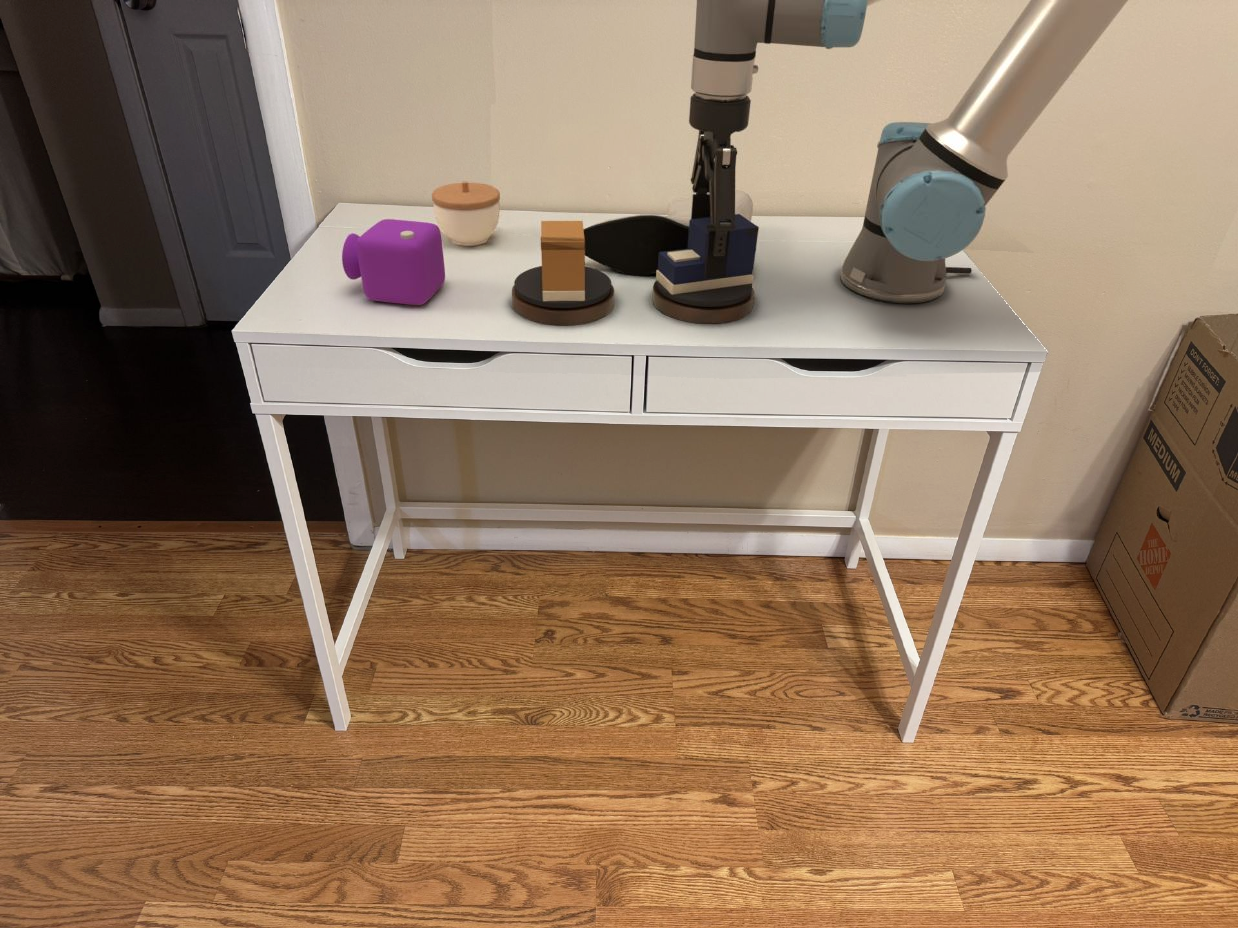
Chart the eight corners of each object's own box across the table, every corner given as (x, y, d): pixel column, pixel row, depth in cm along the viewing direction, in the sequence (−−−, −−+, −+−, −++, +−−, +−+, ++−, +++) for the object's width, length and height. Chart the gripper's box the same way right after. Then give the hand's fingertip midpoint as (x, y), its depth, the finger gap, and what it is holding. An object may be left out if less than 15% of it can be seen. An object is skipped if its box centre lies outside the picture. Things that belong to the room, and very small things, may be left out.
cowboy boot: (760, 235, 120) (765, 185, 140) (574, 204, 122) (605, 159, 142) (748, 296, 125) (754, 239, 146) (570, 265, 127) (600, 213, 148)
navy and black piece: (724, 263, 126) (731, 204, 120) (769, 299, 115) (778, 236, 110) (641, 274, 122) (644, 213, 116) (680, 312, 111) (684, 248, 106)
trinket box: (426, 235, 139) (419, 178, 133) (484, 224, 144) (480, 168, 138) (453, 256, 131) (447, 197, 126) (513, 244, 136) (510, 186, 131)
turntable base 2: (742, 281, 126) (743, 268, 125) (762, 323, 114) (764, 310, 113) (647, 282, 125) (648, 269, 124) (658, 324, 113) (659, 311, 112)
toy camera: (358, 276, 124) (346, 210, 118) (449, 278, 124) (443, 212, 118) (337, 307, 115) (324, 237, 110) (436, 309, 115) (428, 240, 110)
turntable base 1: (610, 282, 125) (610, 269, 124) (617, 325, 113) (617, 311, 112) (513, 282, 124) (513, 270, 122) (510, 326, 112) (510, 312, 111)
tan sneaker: (614, 308, 112) (616, 243, 107) (513, 309, 111) (509, 243, 106) (608, 268, 123) (609, 208, 118) (515, 269, 122) (512, 208, 117)
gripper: (773, 118, 94) (751, 294, 106) (732, 74, 114) (717, 226, 126) (707, 118, 93) (693, 294, 106) (677, 73, 113) (668, 226, 126)
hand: (706, 257), depth 116 cm, fingers open, 13 cm apart
